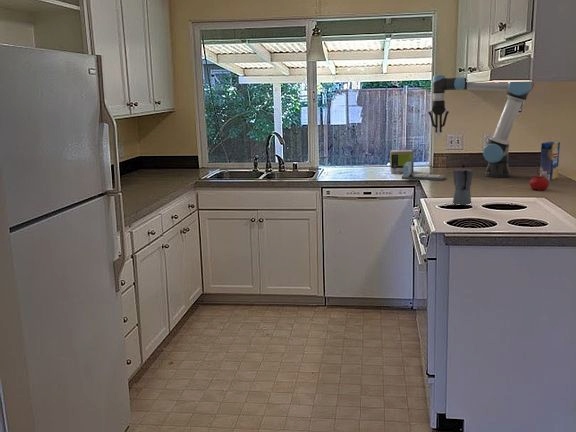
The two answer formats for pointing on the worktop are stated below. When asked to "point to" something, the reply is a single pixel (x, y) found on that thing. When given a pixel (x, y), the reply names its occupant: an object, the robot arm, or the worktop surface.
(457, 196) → the moka pot
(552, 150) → the beverage box
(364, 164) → the worktop surface
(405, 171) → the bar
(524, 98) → the robot arm
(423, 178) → the plate
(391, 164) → the tea box
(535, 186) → the pomegranate
